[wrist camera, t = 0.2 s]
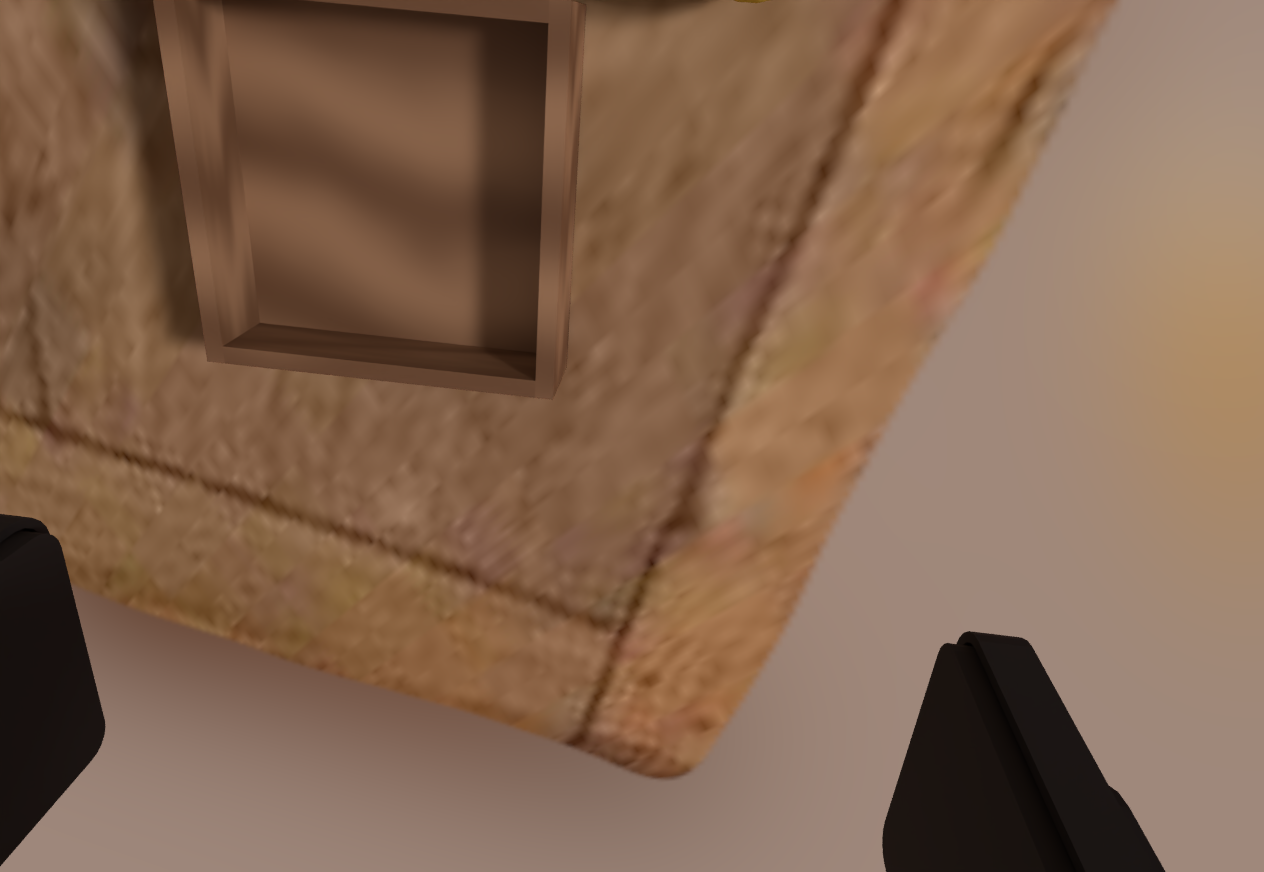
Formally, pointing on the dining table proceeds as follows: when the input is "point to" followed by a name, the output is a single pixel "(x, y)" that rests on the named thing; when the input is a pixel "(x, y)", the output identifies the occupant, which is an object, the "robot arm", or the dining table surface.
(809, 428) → the dining table surface
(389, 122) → the bin
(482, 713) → the dining table surface
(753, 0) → the lemon
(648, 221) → the dining table surface
